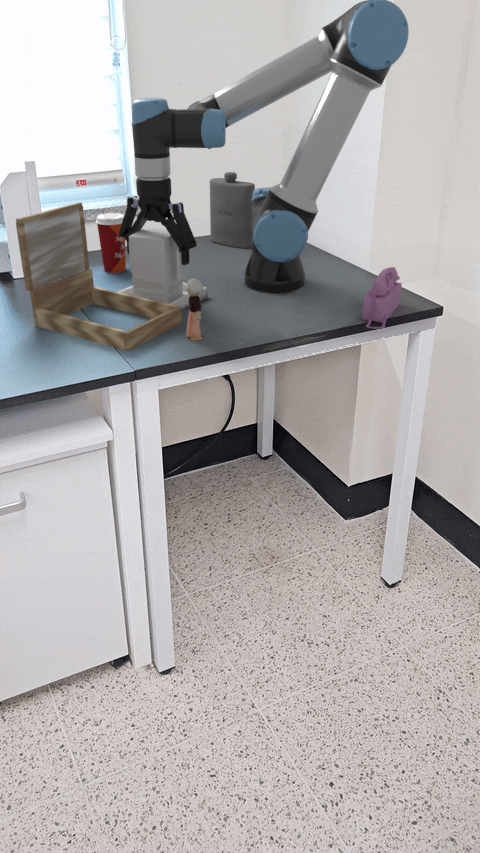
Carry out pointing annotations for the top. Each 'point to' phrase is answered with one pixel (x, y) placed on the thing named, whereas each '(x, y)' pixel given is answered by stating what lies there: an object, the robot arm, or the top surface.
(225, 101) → the robot arm
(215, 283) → the top surface
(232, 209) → the flask
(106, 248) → the paper cup
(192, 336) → the grandmother figurine
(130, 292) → the tray
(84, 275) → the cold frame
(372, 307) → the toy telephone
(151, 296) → the supplement box
